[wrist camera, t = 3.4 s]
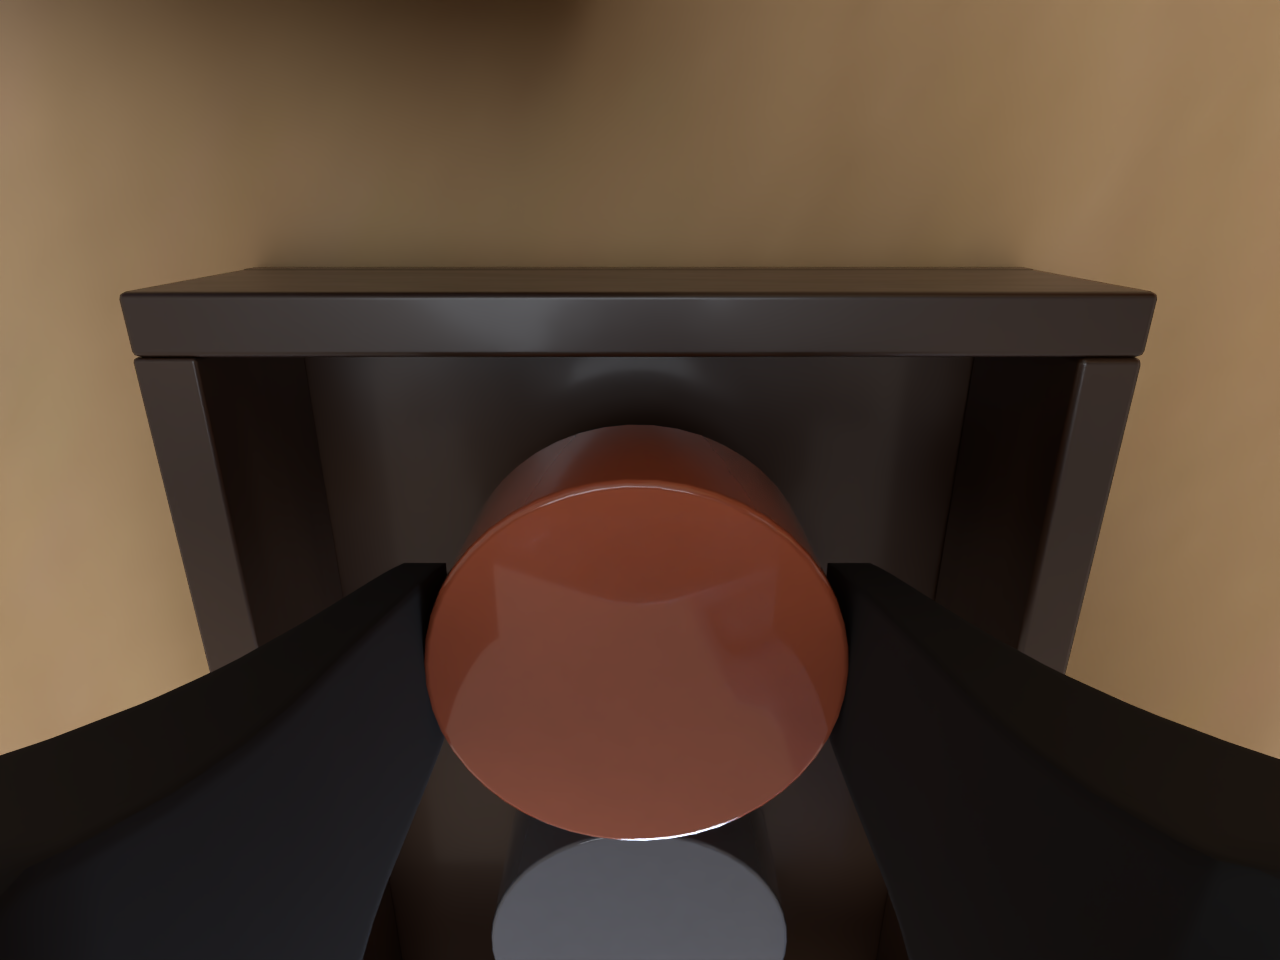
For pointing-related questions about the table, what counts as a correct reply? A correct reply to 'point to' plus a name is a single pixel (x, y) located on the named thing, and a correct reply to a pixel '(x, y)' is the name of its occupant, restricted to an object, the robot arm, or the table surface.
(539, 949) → the gray and black puck
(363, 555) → the dark brown tray
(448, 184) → the table surface
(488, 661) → the terracotta coaster
